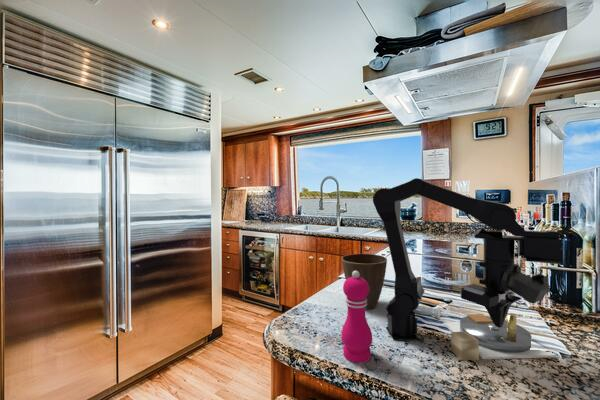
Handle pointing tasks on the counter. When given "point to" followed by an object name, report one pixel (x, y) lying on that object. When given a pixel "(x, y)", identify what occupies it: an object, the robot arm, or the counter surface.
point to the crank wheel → (497, 333)
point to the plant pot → (367, 273)
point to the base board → (495, 354)
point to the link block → (465, 345)
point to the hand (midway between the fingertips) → (498, 326)
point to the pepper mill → (356, 320)
